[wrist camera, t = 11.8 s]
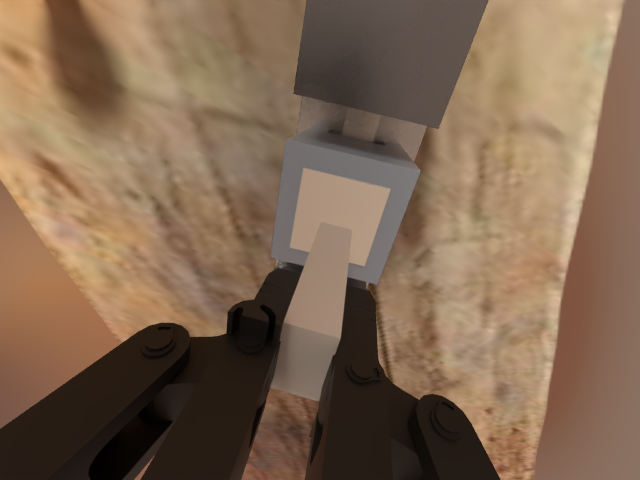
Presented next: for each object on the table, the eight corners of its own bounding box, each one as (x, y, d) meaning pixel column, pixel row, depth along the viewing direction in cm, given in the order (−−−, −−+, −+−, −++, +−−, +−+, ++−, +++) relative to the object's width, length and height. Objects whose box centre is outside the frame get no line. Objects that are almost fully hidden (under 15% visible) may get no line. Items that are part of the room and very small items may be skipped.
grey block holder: (330, -61, 18) (296, -216, 9) (480, -27, 18) (595, -155, 9) (273, 291, 32) (238, 363, 23) (355, 313, 32) (351, 394, 23)
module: (314, 125, 22) (284, 139, 14) (400, 145, 22) (421, 172, 14) (299, 209, 26) (269, 259, 18) (373, 227, 26) (377, 287, 17)
